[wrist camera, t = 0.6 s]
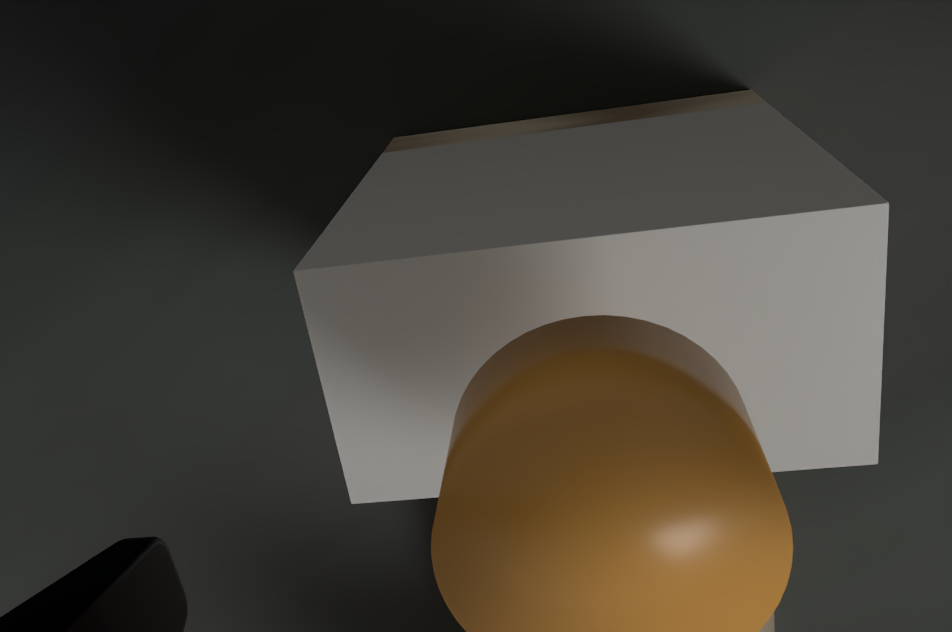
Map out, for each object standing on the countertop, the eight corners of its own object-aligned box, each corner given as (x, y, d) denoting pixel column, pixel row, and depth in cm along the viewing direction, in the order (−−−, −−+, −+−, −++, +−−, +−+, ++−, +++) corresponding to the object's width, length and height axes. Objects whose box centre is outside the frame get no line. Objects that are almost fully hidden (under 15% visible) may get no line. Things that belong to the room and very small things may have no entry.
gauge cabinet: (766, 102, 17) (888, 203, 11) (769, 309, 19) (876, 497, 13) (382, 153, 19) (292, 271, 12) (419, 344, 20) (359, 534, 14)
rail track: (751, 89, 19) (784, 117, 16) (765, 742, 27) (789, 834, 24) (393, 137, 20) (368, 171, 17) (509, 751, 28) (504, 840, 25)
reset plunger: (746, 299, 10) (792, 386, 8) (754, 558, 11) (793, 683, 9) (428, 331, 10) (401, 422, 8) (474, 575, 11) (459, 697, 10)
